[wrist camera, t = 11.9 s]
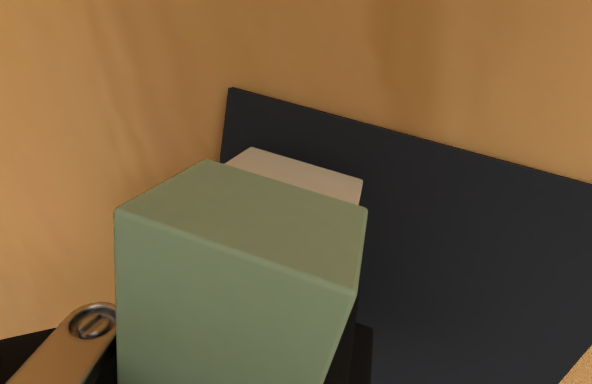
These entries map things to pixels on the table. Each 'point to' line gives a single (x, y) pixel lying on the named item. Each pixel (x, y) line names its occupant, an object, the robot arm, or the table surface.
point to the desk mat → (447, 248)
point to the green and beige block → (237, 272)
